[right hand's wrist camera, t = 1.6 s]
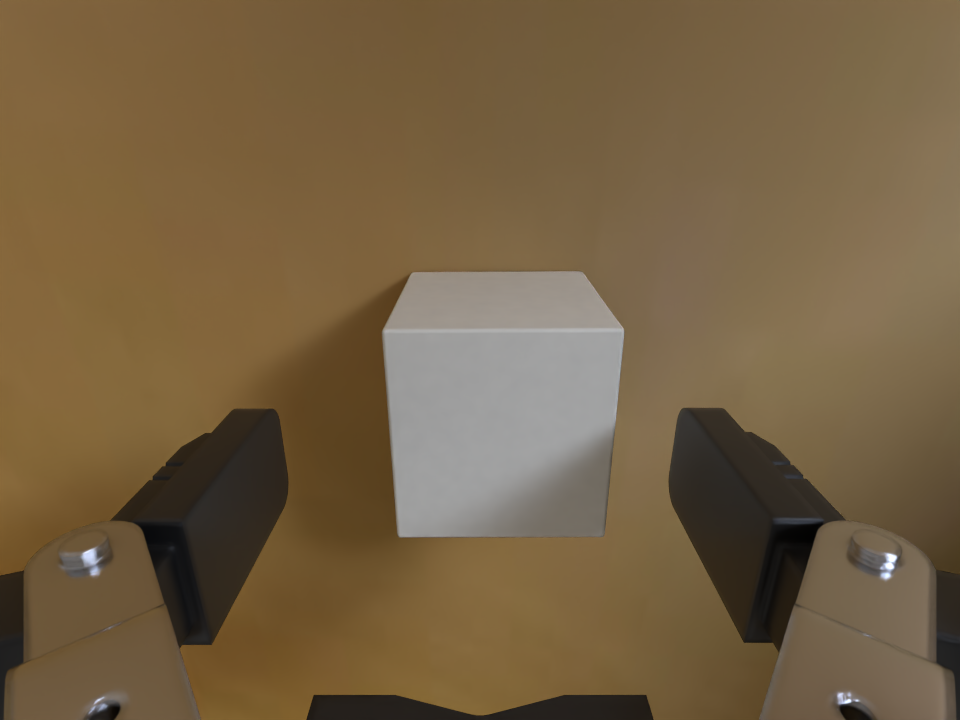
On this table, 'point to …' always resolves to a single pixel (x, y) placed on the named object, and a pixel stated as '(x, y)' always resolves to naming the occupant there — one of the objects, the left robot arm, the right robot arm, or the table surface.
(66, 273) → the table surface
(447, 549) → the table surface
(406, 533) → the white cube
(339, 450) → the table surface
